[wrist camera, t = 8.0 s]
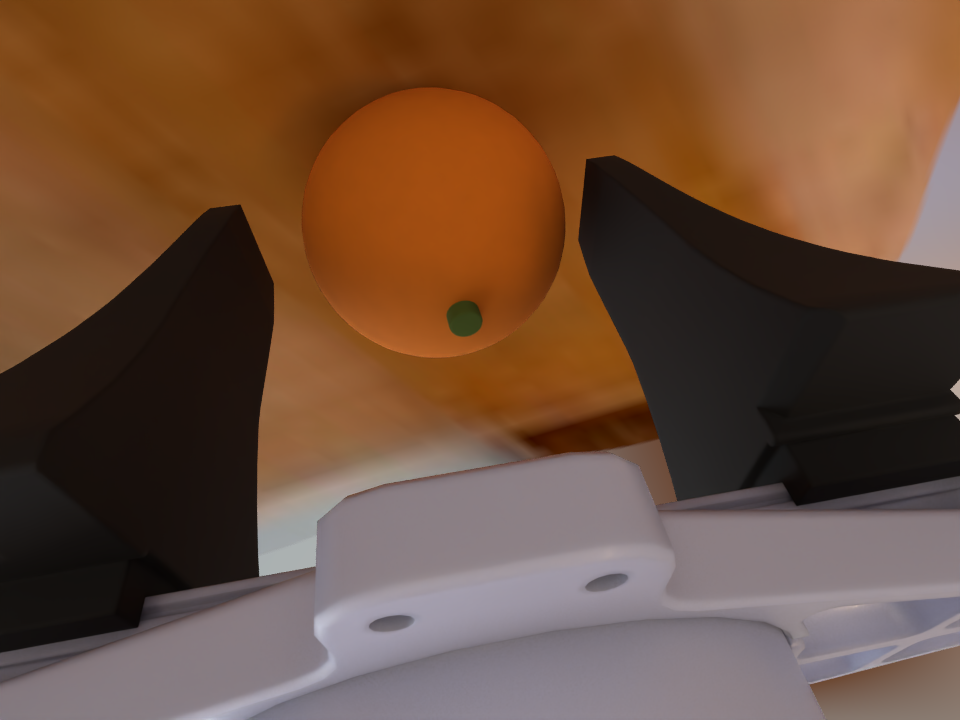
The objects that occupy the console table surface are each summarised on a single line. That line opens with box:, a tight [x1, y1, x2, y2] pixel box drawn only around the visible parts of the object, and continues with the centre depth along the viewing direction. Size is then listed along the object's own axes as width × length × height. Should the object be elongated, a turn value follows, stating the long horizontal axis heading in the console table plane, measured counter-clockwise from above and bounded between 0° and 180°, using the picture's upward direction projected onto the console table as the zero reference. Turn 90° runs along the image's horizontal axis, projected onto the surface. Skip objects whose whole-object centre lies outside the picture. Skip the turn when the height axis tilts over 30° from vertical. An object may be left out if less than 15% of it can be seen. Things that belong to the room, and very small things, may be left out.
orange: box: [302, 87, 565, 358], centre depth 12 cm, size 5×5×6 cm
